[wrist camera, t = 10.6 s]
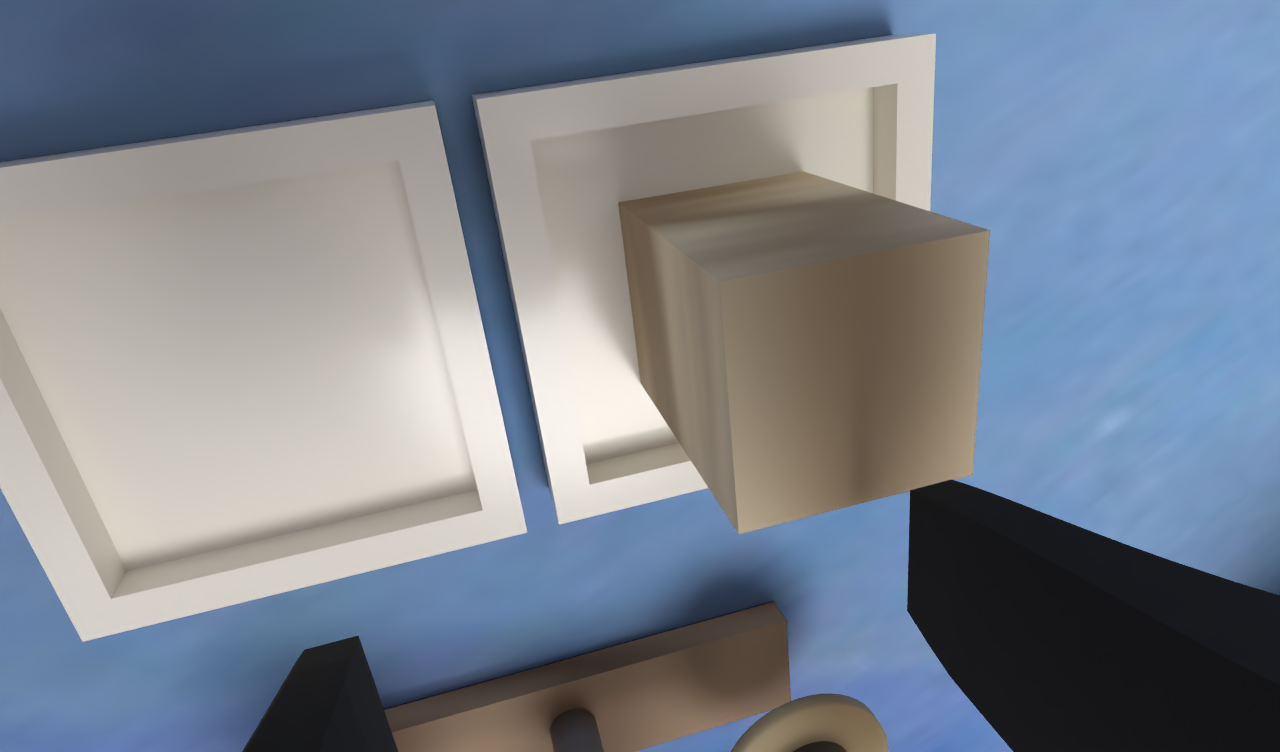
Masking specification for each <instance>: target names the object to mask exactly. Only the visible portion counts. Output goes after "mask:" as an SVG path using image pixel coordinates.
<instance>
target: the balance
mask: <svg viewBox="0 0 1280 752" xmlns="http://www.w3.org/2000/svg"><path fill="white" fill-rule="evenodd" d="M773 709H774V710H773ZM770 710H772V711H770ZM767 711H770V712H769V713H767V714H766V715H764V716H763V717H762V718H760V719H759V720H758V721H757V722H755V723H754V724H753V725H752V726H751V727H750V728H749V729H748V730H747V731H746V732H745V733H744V734H743V735H742V736H741V738H740V739H739V740H738V741H737V743H736V744H735V746H734V747H733V749H732V751H731V752H888V741H887V737H886V734H885V732H884V730H883V728H882V726H881V725H880V723H879V722H878V720H877V719H876V717H875V716H874V714H873V713H872V712H871V710H870V709H869V708H868V707H867V706H866V705H864V704H863V703H862V702H860V701H858V700H856V699H854V698H851V697H849V696H844V695H840V694H817V695H810V696H806V697H802V698H799V699H796V700H793V701H791V694H790V676H789V657H788V639H787V621H786V619H785V618H784V616H783V614H782V613H781V611H780V610H779V608H778V607H777V605H776V603H775V602H771V603H768V604H764V605H761V606H757V607H753V608H750V609H746V610H743V611H739V612H735V613H732V614H728V615H725V616H721V617H717V618H714V619H710V620H707V621H703V622H699V623H696V624H692V625H689V626H685V627H681V628H678V629H674V630H671V631H667V632H663V633H660V634H656V635H653V636H649V637H645V638H642V639H638V640H635V641H631V642H627V643H624V644H620V645H617V646H613V647H609V648H606V649H602V650H598V651H595V652H591V653H588V654H584V655H580V656H577V657H573V658H570V659H566V660H562V661H559V662H555V663H552V664H548V665H544V666H541V667H537V668H534V669H530V670H526V671H523V672H519V673H516V674H512V675H508V676H505V677H501V678H498V679H494V680H490V681H487V682H483V683H480V684H476V685H472V686H469V687H465V688H462V689H458V690H454V691H451V692H447V693H444V694H440V695H436V696H433V697H429V698H426V699H422V700H418V701H415V702H411V703H408V704H404V705H400V706H397V707H393V708H390V709H386V710H384V712H385V715H386V717H387V720H388V723H389V726H390V729H391V732H392V735H393V738H394V741H395V744H396V746H397V749H398V752H635V751H638V750H642V749H645V748H648V747H651V746H655V745H658V744H661V743H665V742H668V741H671V740H674V739H678V738H681V737H684V736H688V735H691V734H694V733H697V732H701V731H704V730H707V729H711V728H714V727H717V726H720V725H724V724H727V723H730V722H734V721H737V720H740V719H743V718H747V717H750V716H753V715H757V714H760V713H763V712H767Z"/></svg>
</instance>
